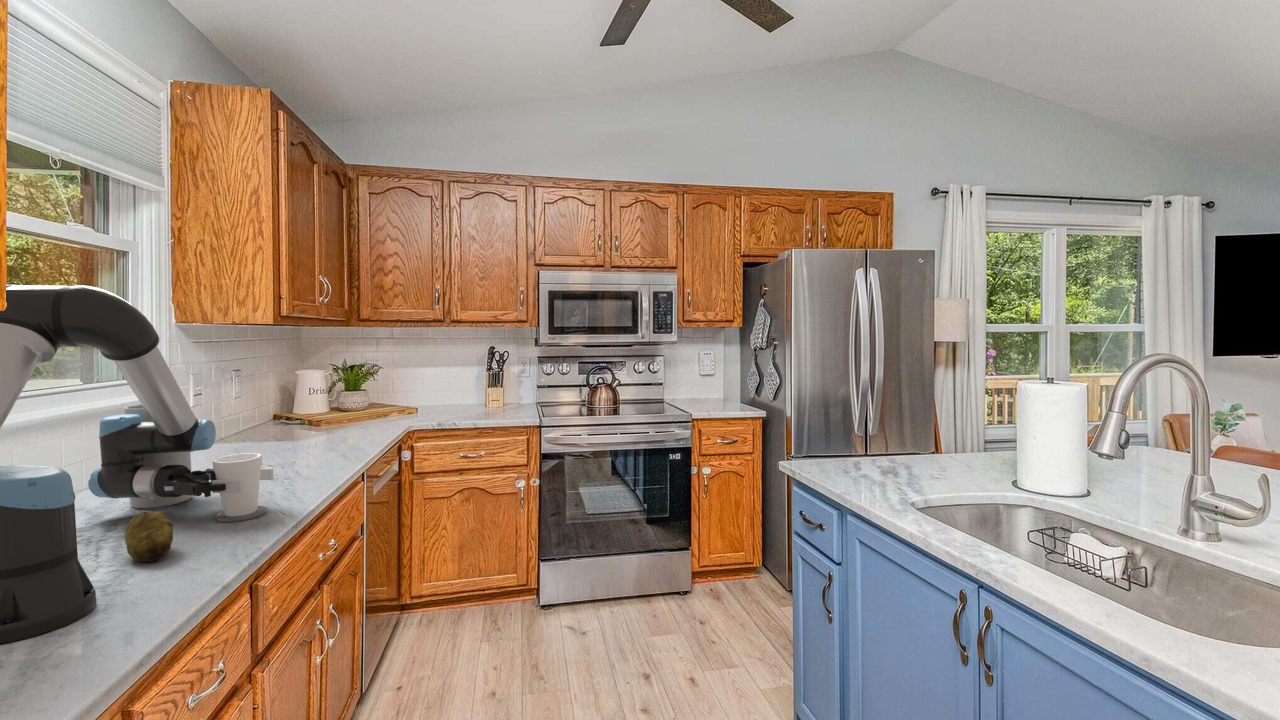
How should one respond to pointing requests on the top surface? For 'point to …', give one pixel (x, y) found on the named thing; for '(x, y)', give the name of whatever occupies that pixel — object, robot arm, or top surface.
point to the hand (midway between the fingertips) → (257, 479)
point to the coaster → (223, 518)
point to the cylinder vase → (158, 459)
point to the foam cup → (249, 473)
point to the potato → (149, 536)
